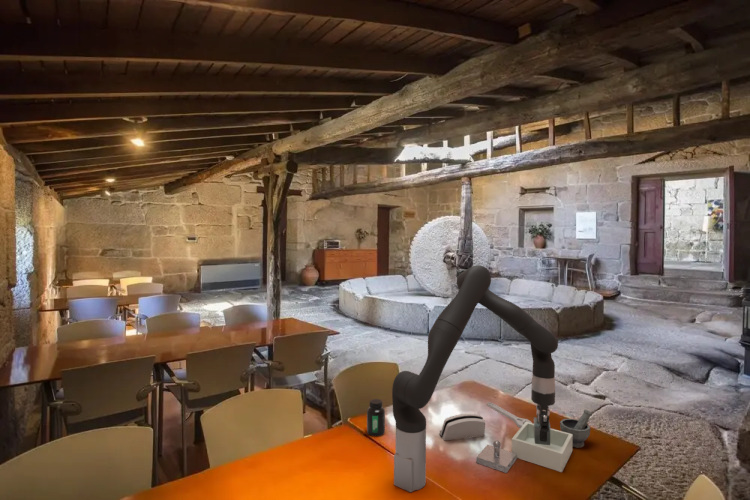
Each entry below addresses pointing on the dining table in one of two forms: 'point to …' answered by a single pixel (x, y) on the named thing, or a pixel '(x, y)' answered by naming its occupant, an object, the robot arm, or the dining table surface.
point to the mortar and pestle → (577, 428)
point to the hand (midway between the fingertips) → (542, 436)
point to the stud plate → (496, 457)
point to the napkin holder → (463, 426)
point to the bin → (543, 447)
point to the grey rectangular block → (537, 433)
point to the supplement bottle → (375, 418)
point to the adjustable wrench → (508, 415)
